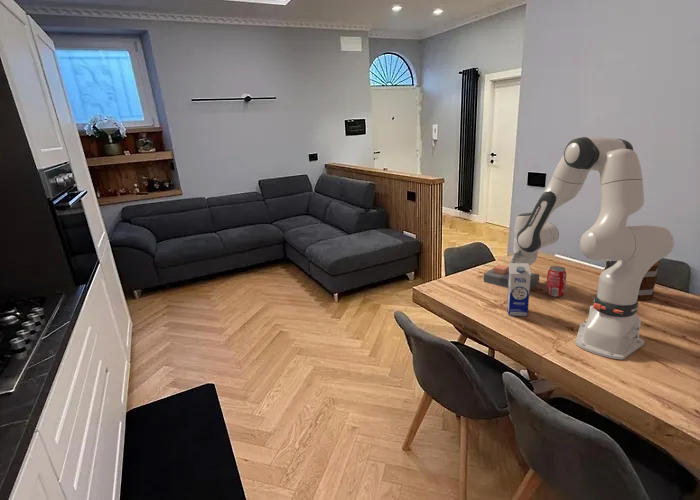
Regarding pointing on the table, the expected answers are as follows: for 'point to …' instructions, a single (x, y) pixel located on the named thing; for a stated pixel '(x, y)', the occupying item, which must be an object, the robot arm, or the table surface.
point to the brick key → (501, 269)
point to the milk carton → (518, 289)
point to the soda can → (556, 281)
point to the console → (506, 279)
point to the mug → (646, 282)
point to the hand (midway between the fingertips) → (522, 276)
